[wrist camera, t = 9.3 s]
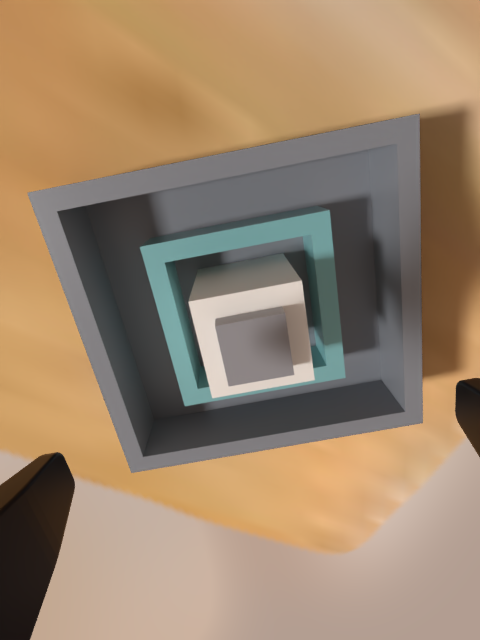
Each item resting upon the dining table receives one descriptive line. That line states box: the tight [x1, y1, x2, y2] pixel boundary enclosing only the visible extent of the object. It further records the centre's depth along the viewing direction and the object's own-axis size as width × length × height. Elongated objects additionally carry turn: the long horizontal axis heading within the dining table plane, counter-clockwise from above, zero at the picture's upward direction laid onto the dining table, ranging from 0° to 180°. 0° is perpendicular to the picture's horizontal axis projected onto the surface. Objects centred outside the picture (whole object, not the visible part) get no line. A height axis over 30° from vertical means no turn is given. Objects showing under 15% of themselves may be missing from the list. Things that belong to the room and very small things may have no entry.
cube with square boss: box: [188, 253, 315, 398], centre depth 16 cm, size 4×4×6 cm
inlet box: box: [28, 114, 423, 473], centre depth 17 cm, size 14×13×4 cm
